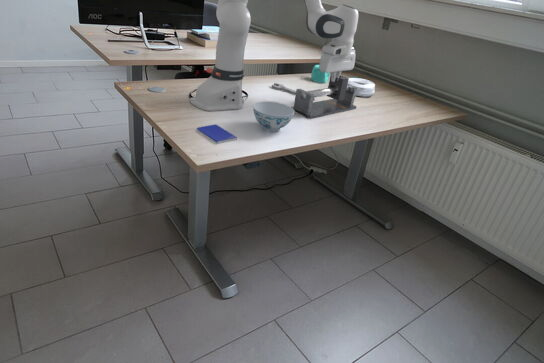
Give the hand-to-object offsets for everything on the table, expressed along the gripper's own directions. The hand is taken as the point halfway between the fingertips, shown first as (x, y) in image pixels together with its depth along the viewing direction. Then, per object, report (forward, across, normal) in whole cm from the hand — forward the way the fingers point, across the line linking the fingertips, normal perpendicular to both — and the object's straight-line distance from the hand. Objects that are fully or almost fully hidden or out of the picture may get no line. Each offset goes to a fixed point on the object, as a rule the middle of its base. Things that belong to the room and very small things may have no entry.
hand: (334, 81), depth 164 cm
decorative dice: (+13, -32, -33) cm, 48 cm away
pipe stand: (+12, +3, 0) cm, 13 cm away
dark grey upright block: (+8, -3, 0) cm, 8 cm away
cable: (+13, -37, -11) cm, 41 cm away
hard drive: (+13, +63, +2) cm, 64 cm away
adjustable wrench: (+13, +1, -23) cm, 26 cm away
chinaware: (+12, +41, +6) cm, 43 cm away
